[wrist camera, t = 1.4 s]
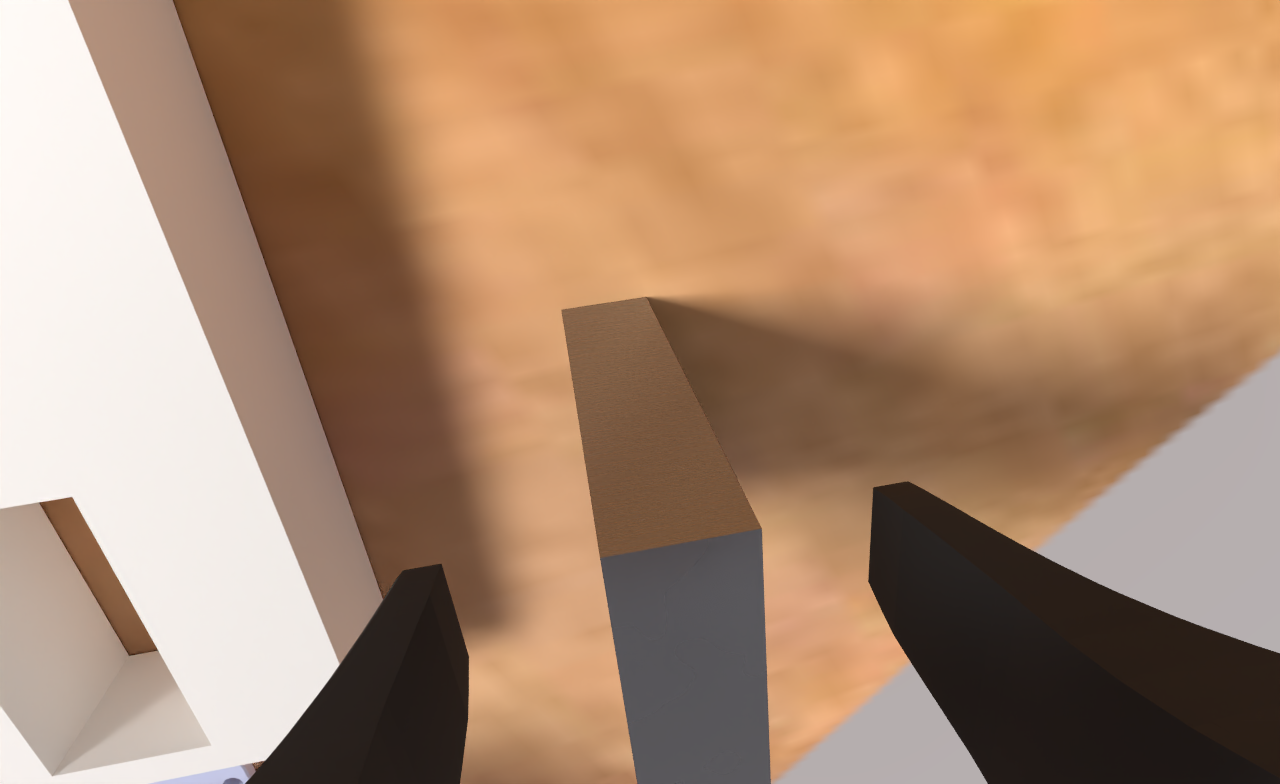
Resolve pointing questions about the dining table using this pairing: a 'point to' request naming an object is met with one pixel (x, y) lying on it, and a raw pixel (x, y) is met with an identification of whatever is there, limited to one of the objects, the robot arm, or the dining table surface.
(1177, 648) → the robot arm
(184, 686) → the white board with holes
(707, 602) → the gray rectangular block
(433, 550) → the dining table surface
